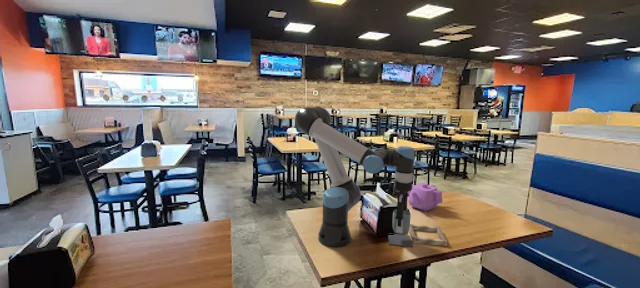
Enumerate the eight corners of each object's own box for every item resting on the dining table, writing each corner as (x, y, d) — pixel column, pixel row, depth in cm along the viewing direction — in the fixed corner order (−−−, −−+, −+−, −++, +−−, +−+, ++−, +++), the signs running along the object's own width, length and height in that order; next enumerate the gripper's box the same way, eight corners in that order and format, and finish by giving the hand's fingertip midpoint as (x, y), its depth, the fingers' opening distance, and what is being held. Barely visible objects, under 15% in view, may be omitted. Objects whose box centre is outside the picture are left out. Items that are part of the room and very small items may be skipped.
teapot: (433, 202, 179) (435, 179, 177) (444, 213, 161) (446, 188, 159) (403, 201, 180) (404, 179, 178) (411, 212, 162) (412, 188, 160)
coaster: (389, 244, 125) (389, 243, 125) (388, 234, 135) (388, 233, 135) (412, 247, 124) (412, 246, 124) (409, 236, 133) (409, 235, 133)
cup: (410, 231, 130) (412, 211, 129) (407, 238, 124) (409, 217, 122) (393, 227, 134) (395, 208, 132) (390, 234, 127) (391, 213, 125)
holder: (412, 242, 128) (412, 238, 128) (408, 228, 142) (408, 224, 142) (446, 246, 125) (447, 241, 125) (439, 231, 140) (439, 227, 139)
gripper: (409, 188, 114) (405, 240, 118) (415, 176, 132) (412, 221, 136) (390, 185, 117) (387, 236, 121) (399, 174, 136) (396, 218, 139)
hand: (400, 228), depth 128 cm, fingers closed on cup, 8 cm apart
